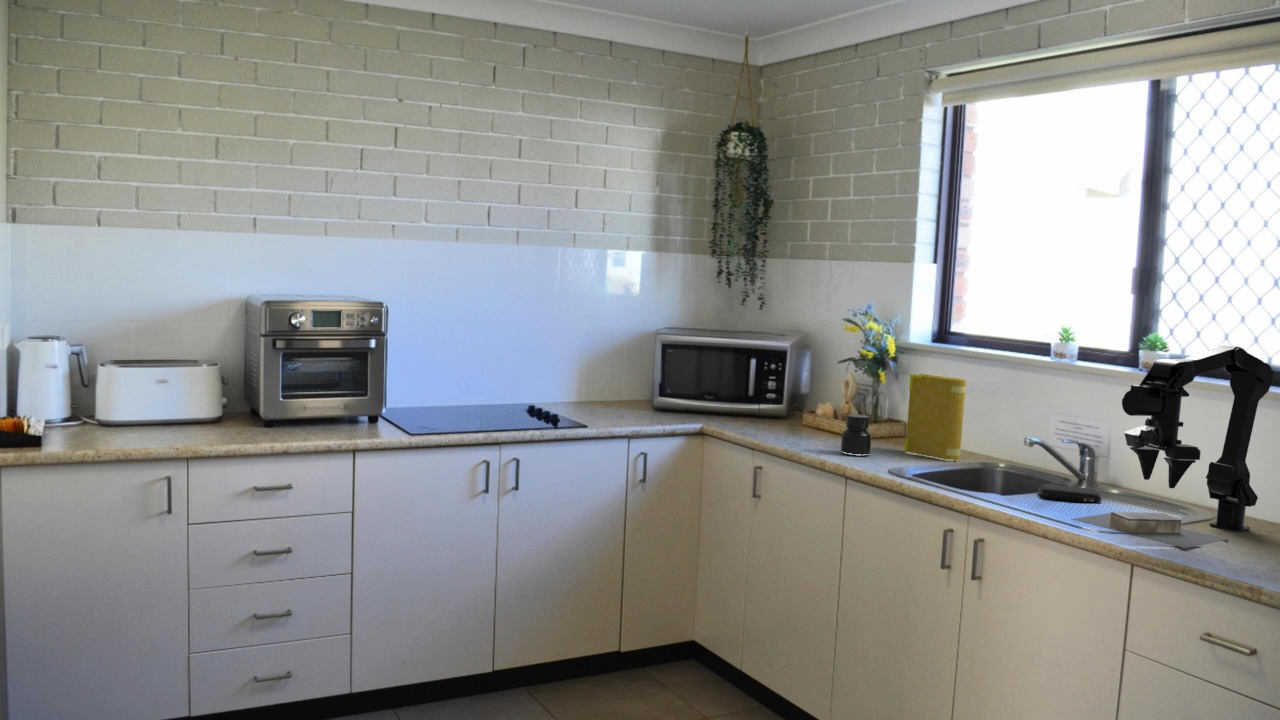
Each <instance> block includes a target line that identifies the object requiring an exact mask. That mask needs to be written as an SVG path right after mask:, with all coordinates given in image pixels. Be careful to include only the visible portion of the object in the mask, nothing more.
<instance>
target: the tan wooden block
mask: <svg viewBox="0 0 1280 720" xmlns="http://www.w3.org/2000/svg"><path fill="white" fill-rule="evenodd" d="M1110 513H1111V518H1110V525H1112V526H1114V527H1116V528H1119V529H1121V530H1123V531H1126V532H1154V533H1180V528H1182V527H1181V526H1182V519H1180V518H1177V517H1174V516H1172V515H1169V514H1167V513H1165V512H1132V511H1111V512H1110Z"/></svg>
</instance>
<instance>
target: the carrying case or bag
mask: <svg viewBox="0 0 1280 720" xmlns="http://www.w3.org/2000/svg"><path fill="white" fill-rule="evenodd" d="M1038 493H1039V495H1040V496H1041V497H1042V498H1043V499H1045V500H1049V501H1050V500H1052V501H1060V502H1067V503H1068V502H1070V503H1076V504H1077V503H1079V504H1087V505H1088V504H1089V505H1098V504H1099V503H1101V502H1102V497H1101V495H1100V494H1099V493H1098V492H1097V490H1096V489H1094V488H1089V487H1081V486H1074V485H1073V486H1072V485H1070V486H1069V485H1063V484H1052V483H1043V484H1041V485H1040V486H1039V487H1038Z"/></svg>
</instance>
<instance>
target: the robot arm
mask: <svg viewBox="0 0 1280 720" xmlns="http://www.w3.org/2000/svg"><path fill="white" fill-rule="evenodd" d="M1219 369H1223V370H1224V372H1226V374H1228V375H1229V376H1230V377H1229V386H1230V388H1231V392H1232V394H1233V403H1232V406H1231V412H1230V415H1229V416H1230V417H1229V420H1228V426H1227V430H1226V434H1225V438H1224V439H1225V440H1224V443H1223V448H1222V452H1221V455H1220V457H1219V458H1218V459H1217V460H1216V461H1215V462H1214V461H1210V463H1209V464H1208V470H1207V474H1206V476H1205V479H1206V486H1207V490H1208V494H1209V498H1210V499H1211V500H1212V499H1213V500H1217V503H1218V504H1217V513H1216V520H1215V522H1210V523H1209V525H1208V526H1211V527H1215V528H1220V529H1224V530H1228V531H1232V532H1242V531H1247V530H1251V527H1250V526H1247V525H1245V517H1246V508H1247V507H1250V508H1251V507H1252V506H1253V507H1254V506H1256V504H1257V501H1258V499H1259V497H1258V495H1257V494H1256V493H1255V491H1254V490H1253V488H1252V486H1251V485H1250V482H1251V481H1250V480H1251V472H1250V470H1249V468H1248V465H1247V463H1246V460H1247V455H1248V450H1249V447H1250V442H1251V437H1252V433H1253V428H1254V425H1255V419H1256V414H1257V410H1258V409H1257V408H1258V405H1259V402H1260V400H1261V399H1263V398H1264V396H1265V395H1266V394H1267V393H1268V392H1269V391H1270V388H1271V385H1272V383H1273V379H1274V377H1275V376H1274V375H1275V374H1274V373H1275V372H1274V370H1273V369H1272V367H1271V365H1270V364H1269V363H1267V362H1264V361H1263V360H1262V359H1259V358H1258V357H1256V356H1254V355H1252V354H1250V353H1248V352H1247V351H1246V350H1245V348H1242V347H1241V346H1236V345H1234V346H1233V345H1222V346H1219V347H1217V348H1214V349H1211V350H1208V351H1204V352H1201V353H1197V354H1195V355H1191V356H1188V357H1185V358H1184V357H1183V358H1163V359H1161V358H1160V359H1157V360H1154V362H1152V366H1151V367H1150V369H1149V370H1148V372H1147V373H1146V375H1145V376H1144V378H1143V379H1142V381H1141V382H1140V384H1139V385H1137V384H1132V385H1130V390H1127V391H1126V393H1125V394H1124V395H1123V398H1122V399H1121V406H1122V410H1123V412H1124V413H1126V415H1128V416H1131V417H1135V416H1137V417H1138V416H1139V417H1140V416H1141V417H1144V416H1145V417H1146V419H1145V422H1144V425H1141V426H1137V427H1134V428H1132V429H1128V430H1125V431H1124V437H1125V441H1126V442H1125V443H1126V446H1127V447H1129V449H1130V450H1131V451H1132V452H1134V454H1136V456H1137V458H1138V461H1139V464H1140V469H1141V472H1142V477H1143V479H1144V480H1146V481H1149V480H1150V479H1151V476H1152V475H1153V471H1154V467H1155V465H1156V462H1157V459H1158V456H1159V453H1160V451H1163V452H1164V454H1165V456H1166V457H1163V459H1164V461H1165V462H1166V463H1167V464H1168V477H1167V480H1168V482H1167V483H1168V488H1169V489H1175V488H1176V487H1177V485H1178V484H1179V482H1180V480H1181V479H1182V478H1183V476H1184V475H1185V473H1186V472H1187V471H1188V469H1189V468H1190V467H1191V466H1192V464H1195V463H1196V461H1200V460H1201V452H1202V451H1201V450H1200V449H1199V447H1197V446H1194V445H1191V444H1185V443H1183V444H1182V440H1181V439H1178V437H1179V436H1178V435H1179V429H1180V428H1179V427H1181V428H1182V427H1184V422H1183V421H1180V416H1181V404H1182V397H1183V398H1187V397H1189V396H1190V393H1189V392H1188V391H1187V390H1185V388H1184V386H1186V385H1188V384H1190V383H1192V382H1193V381H1194V380H1195V378H1196V377H1197V376H1199V375H1203V374H1207V373H1210V372H1212V371H1216V370H1219ZM1147 417H1148V418H1147ZM1149 417H1150V418H1149Z"/></svg>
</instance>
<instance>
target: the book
mask: <svg viewBox="0 0 1280 720" xmlns="http://www.w3.org/2000/svg"><path fill="white" fill-rule="evenodd" d="M966 383H967V380H966V379H964V378H959V377H958V378H957V377H949V376H940V375H933V374H928V373H919V374H910V375H909V388H908V389H909V396H908V397H909V398H908V399H909V400H908V411H907V413H908V414H907V425H906V438H905V440H904V451H905V452H911V453H917V454H922V455H927V456H933V457H938V458H943V459H953V460H958V459H960V460H961V458H960V457H961V447H962V446H961V445H962V435H963V421H964V409H965V400H966V399H965V398H966V387H967V385H966ZM904 451H903V452H904Z"/></svg>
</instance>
